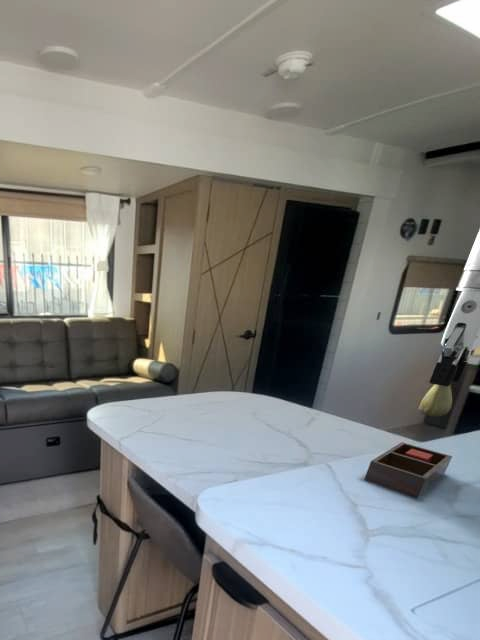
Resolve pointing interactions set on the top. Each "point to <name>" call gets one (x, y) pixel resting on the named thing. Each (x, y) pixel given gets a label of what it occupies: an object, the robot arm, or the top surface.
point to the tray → (407, 470)
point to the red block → (419, 455)
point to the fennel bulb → (437, 401)
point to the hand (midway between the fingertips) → (444, 381)
